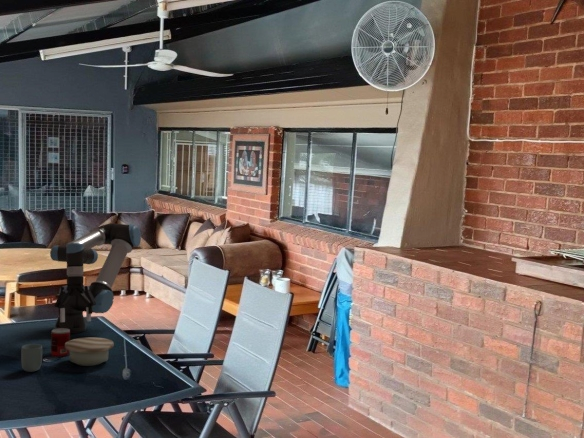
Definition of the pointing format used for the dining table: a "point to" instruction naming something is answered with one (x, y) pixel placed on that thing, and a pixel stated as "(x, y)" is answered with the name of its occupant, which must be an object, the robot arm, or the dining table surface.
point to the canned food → (59, 342)
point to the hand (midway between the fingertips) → (75, 321)
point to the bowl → (88, 358)
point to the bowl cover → (89, 345)
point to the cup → (31, 357)
